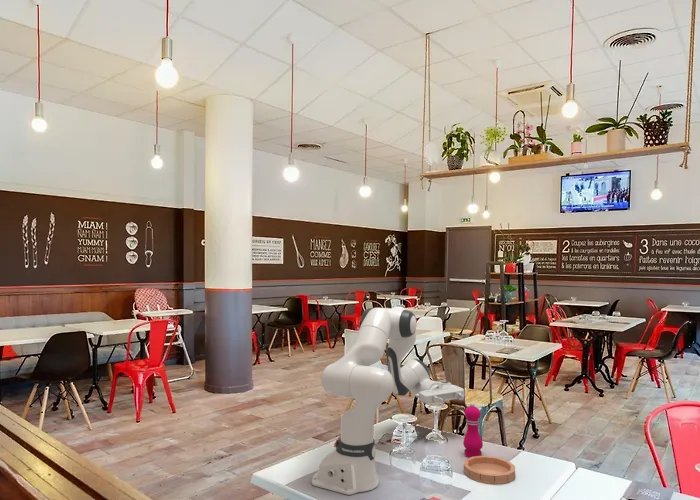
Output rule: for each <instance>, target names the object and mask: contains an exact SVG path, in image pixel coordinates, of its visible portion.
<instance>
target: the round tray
mask: <svg viewBox="0 0 700 500" xmlns="http://www.w3.org/2000/svg"><path fill="white" fill-rule="evenodd" d="M463 471H464V472H463V473H464V474H465V476H467V477H468V478H469V479H470V480H472V481H476V482H478V483H481V482H482V483H483V484H486V485H504V484H509V483H511V482H512V481H514V480H515V479H516V465H514V464H513V463H512V462H511V461H510V460H507V459H504V458H500V457H499V456H498V457H497V456H493V455H491V456H490V455H482V456H473V457H470V458H469V457H467V458H466V459H465V460H464V462H463Z"/></svg>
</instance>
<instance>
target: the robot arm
mask: <svg viewBox="0 0 700 500" xmlns="http://www.w3.org/2000/svg"><path fill="white" fill-rule="evenodd" d="M417 324H418V323H417V317H416V315H415V314H414V313H413V312H412V311H410V310H407V308H405V307H402V306H394V307H393V306H392V307H391V308H390V307H368V308H366V309H365V310H364V311H363V312H362V315H361V319H360V327H359V329H358V332H357V334H356V337H355V339H354V342H353V343H352V344H351V347H350V349H348V350H347V352H345V354H344V355H343V356H342V357H340V358H339V359H337V360H336V361H335V362H332V363H331V364H328V365H327V366H326V367H325V368H324V369H323V371H322V373H321V386H322V388H323V390H324V392H325V393H328V394H331V395H333V396H336V397H342V398H349V399H354V401H355V403H354V406H353V407H351V408H349V409H348V410H345V412H343V414H342V415H341V417H340V435H339V436H338V438H337V439H336V440H335V442H334V444H333V448H335V449H334V450H332V452H331V453H329V454H328V455H326V456H325V457H324V458H323V459H322V460H321V462H320V464H319V467H318V471H316V472H315V473H314V474H313V475H312V477H311V485H312V486H315V487H318V488H322V489H325V490H330V491H333V492H335V493H340V494H343V495H347V496H349V495H355V494H357V493H362V492H369V491H371V490H374V489H375V488H377V487H378V486H379V484H380V480H379V477H378V473H377V469H376V468H377V467H376V463H375V457H376V442H375V441H376V440H375V437H374V431H375V429H374V428H375V417H376V413H377V410H378V409H379V407H380V405H381V404H382V403H383V402H384V401H386V400H387V399H389V398H390V397H391V395H392V393H393V394H394V395H395V396H401V397H402V396H406V395H407V394H409V392H411V393H412V394H413V395H414V396H415V398H418V400H419V402H421V403H423V404H426V405H429V404H436V403H440V404H446V402H447V401H453V400H459V401H464V398H465V389H464V388H463V387H460V386H458V385H455V384H452V383H451V382H450V381H438V380H432V379H430V378H431V374H430V370H429V368H428V366H427V364H426V363H425V362H423V361H422V360H420V359H418V358H411V359H410V360H409V361H407V362H406V363H404V365H403V366H402V367H401V364H402V361H403V359H404V357H405V356H406V354H408V353H409V351H410V350H411V349H412V348H413V346H414V345H415V343H416V339H417V333H416V331H417ZM387 343H388V346H387ZM386 347H387V348H386ZM385 349H386V351H385ZM384 353H385V354H386V364H387V365H386V366H387V369H385V368H380V367H378V366H372V365H374V364H376V363H379V361H380V360H381V359H382V358H383V357H384Z"/></svg>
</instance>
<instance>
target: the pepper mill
mask: <svg viewBox="0 0 700 500" xmlns="http://www.w3.org/2000/svg"><path fill="white" fill-rule="evenodd" d="M481 414H482V413H481V410H480V409H479V408H478V407H477V406H476V405H475V403H474V402H472V401H471V402H470V404H469V406H467V407H466V408H465V409H464V416H465V418H466V419H465V423H466V425H467V426H466V427H467V429H466V432H465V435H464V438H463V443H462V445H463V447H464V448H465V449H464V456H465V457H467V458H470V457H473V456H483V455H482V453H483V452H482V450H481V449H482V448H483V445H484V444H483V440H482V437H481V435H480V433H479V425H480V420H479V419H480V418H481Z"/></svg>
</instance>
